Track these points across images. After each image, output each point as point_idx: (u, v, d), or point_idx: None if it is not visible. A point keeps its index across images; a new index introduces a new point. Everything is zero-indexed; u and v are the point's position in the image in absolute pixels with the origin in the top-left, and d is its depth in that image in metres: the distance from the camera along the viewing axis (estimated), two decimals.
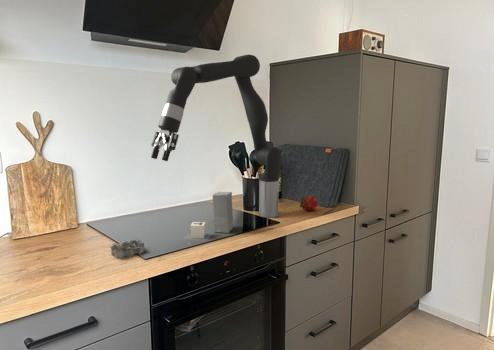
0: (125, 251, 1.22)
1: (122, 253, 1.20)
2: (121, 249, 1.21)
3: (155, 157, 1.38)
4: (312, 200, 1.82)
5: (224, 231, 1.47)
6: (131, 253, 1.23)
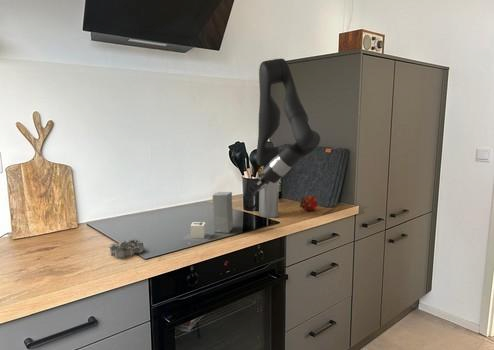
0: (125, 251, 1.22)
1: (122, 253, 1.20)
2: (121, 249, 1.21)
3: None
4: (312, 200, 1.82)
5: (224, 231, 1.47)
6: (131, 253, 1.23)
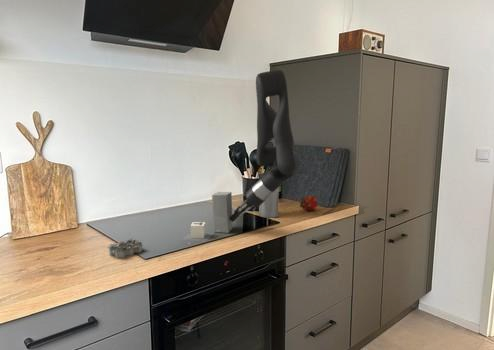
0: (125, 251, 1.23)
1: (123, 253, 1.21)
2: (121, 249, 1.21)
3: None
4: (312, 200, 1.82)
5: (224, 231, 1.47)
6: (131, 253, 1.23)
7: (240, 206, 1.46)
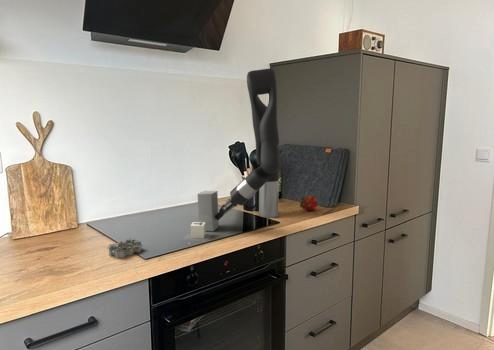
0: (125, 251, 1.23)
1: (123, 253, 1.21)
2: (122, 249, 1.21)
3: None
4: (312, 200, 1.82)
5: (209, 229, 1.49)
6: (131, 252, 1.24)
7: (225, 205, 1.48)
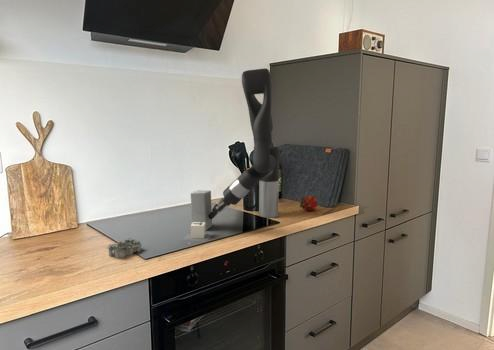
0: (125, 250, 1.23)
1: (123, 252, 1.21)
2: (122, 249, 1.21)
3: None
4: (312, 200, 1.82)
5: None
6: (131, 252, 1.24)
7: (218, 204, 1.49)
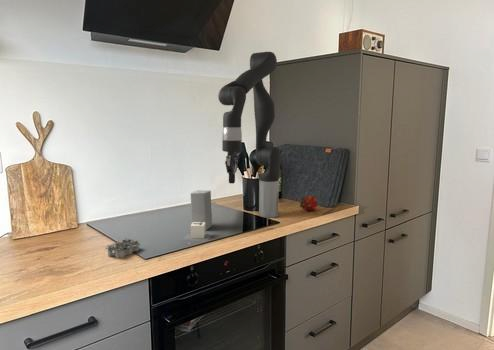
0: (124, 250, 1.23)
1: (124, 252, 1.21)
2: (122, 249, 1.21)
3: None
4: (312, 200, 1.82)
5: None
6: (131, 252, 1.24)
7: None
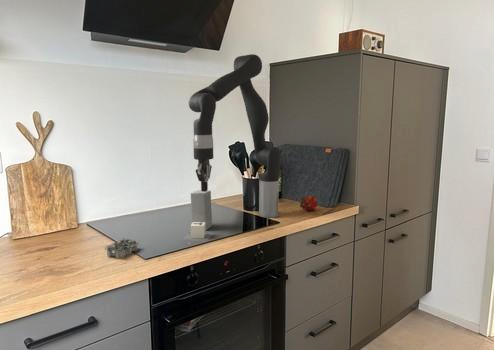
0: (124, 250, 1.23)
1: (124, 252, 1.21)
2: (122, 248, 1.21)
3: None
4: (312, 200, 1.82)
5: None
6: (130, 252, 1.24)
7: None
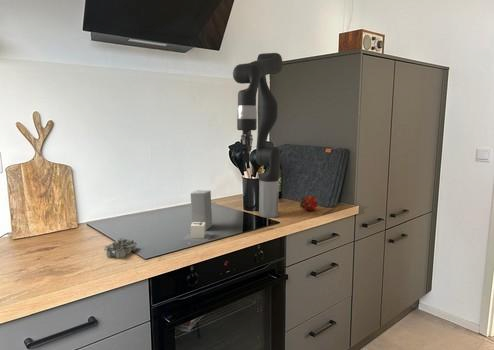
0: (124, 250, 1.23)
1: (124, 252, 1.21)
2: (122, 248, 1.21)
3: None
4: (312, 200, 1.82)
5: None
6: (130, 251, 1.25)
7: (250, 142, 1.42)
